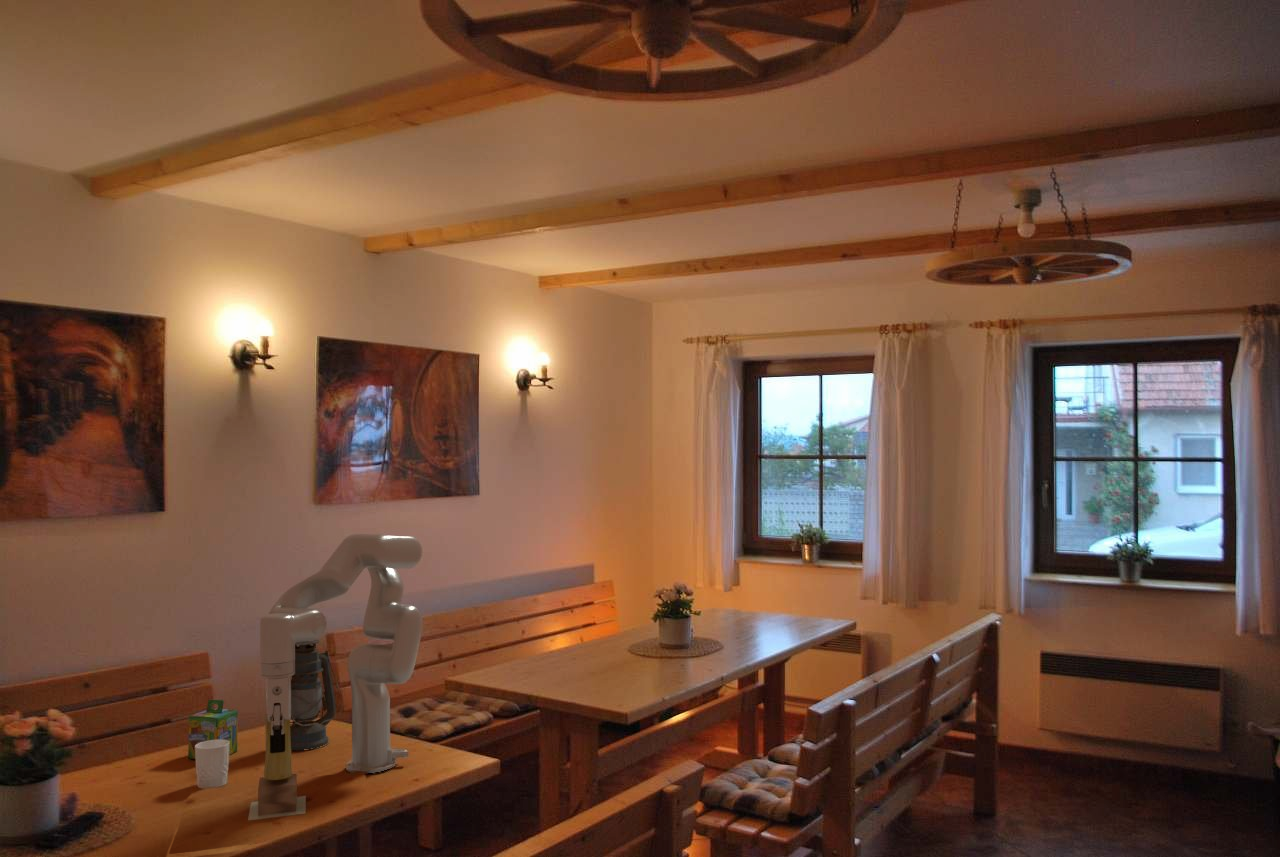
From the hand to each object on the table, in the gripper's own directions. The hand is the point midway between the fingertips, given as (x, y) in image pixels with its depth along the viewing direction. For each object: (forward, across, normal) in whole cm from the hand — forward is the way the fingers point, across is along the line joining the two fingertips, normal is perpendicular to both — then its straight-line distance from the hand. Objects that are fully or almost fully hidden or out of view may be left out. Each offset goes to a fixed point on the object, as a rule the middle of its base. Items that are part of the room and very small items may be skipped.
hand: (278, 747), depth 224 cm
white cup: (+15, +26, +16) cm, 34 cm away
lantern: (+15, +53, -6) cm, 55 cm away
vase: (+7, 0, 0) cm, 7 cm away
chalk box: (+15, +52, +18) cm, 57 cm away
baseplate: (+14, 0, 0) cm, 14 cm away
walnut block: (+13, 0, 0) cm, 13 cm away
